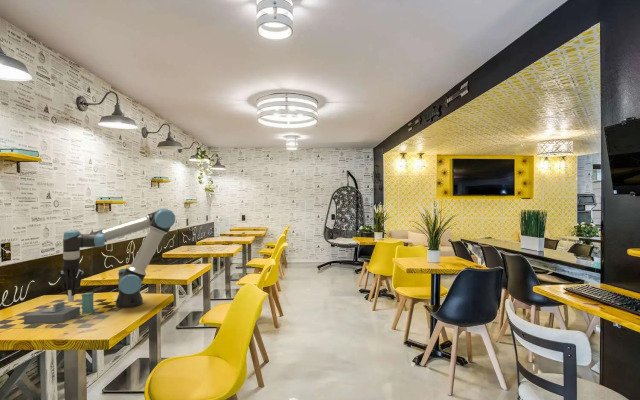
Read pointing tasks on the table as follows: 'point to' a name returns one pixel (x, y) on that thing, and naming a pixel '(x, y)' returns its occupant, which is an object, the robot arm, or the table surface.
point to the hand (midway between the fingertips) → (70, 301)
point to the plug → (87, 302)
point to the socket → (51, 316)
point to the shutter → (54, 308)
